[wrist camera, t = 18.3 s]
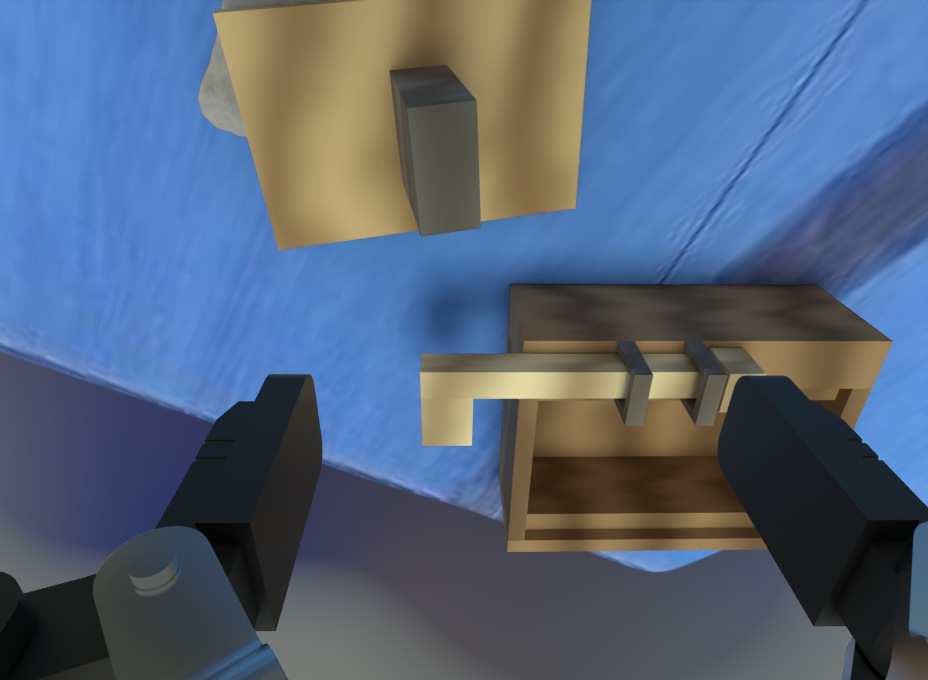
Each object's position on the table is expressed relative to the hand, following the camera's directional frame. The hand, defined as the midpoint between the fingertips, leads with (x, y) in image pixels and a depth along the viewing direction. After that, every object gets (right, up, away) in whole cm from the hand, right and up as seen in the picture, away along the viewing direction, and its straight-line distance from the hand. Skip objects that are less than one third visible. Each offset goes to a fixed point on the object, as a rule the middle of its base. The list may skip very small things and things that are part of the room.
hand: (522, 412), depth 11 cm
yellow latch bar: (+6, -2, +24) cm, 25 cm away
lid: (-4, +14, +21) cm, 26 cm away
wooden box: (+13, -2, +34) cm, 37 cm away
